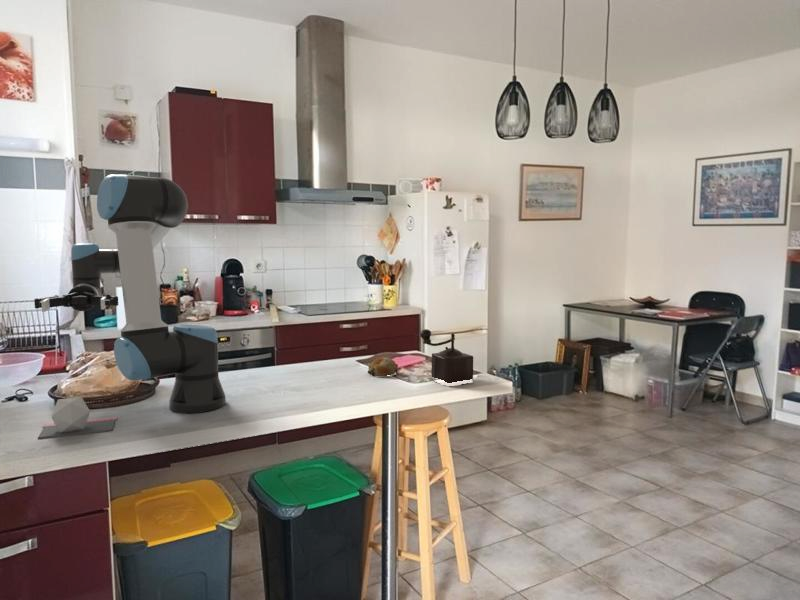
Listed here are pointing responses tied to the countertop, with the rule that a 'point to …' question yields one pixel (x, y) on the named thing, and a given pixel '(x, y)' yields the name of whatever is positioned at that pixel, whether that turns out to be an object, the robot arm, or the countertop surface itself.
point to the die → (70, 414)
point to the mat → (89, 428)
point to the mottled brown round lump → (382, 367)
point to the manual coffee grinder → (449, 361)
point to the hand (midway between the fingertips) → (73, 305)
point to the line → (86, 421)
